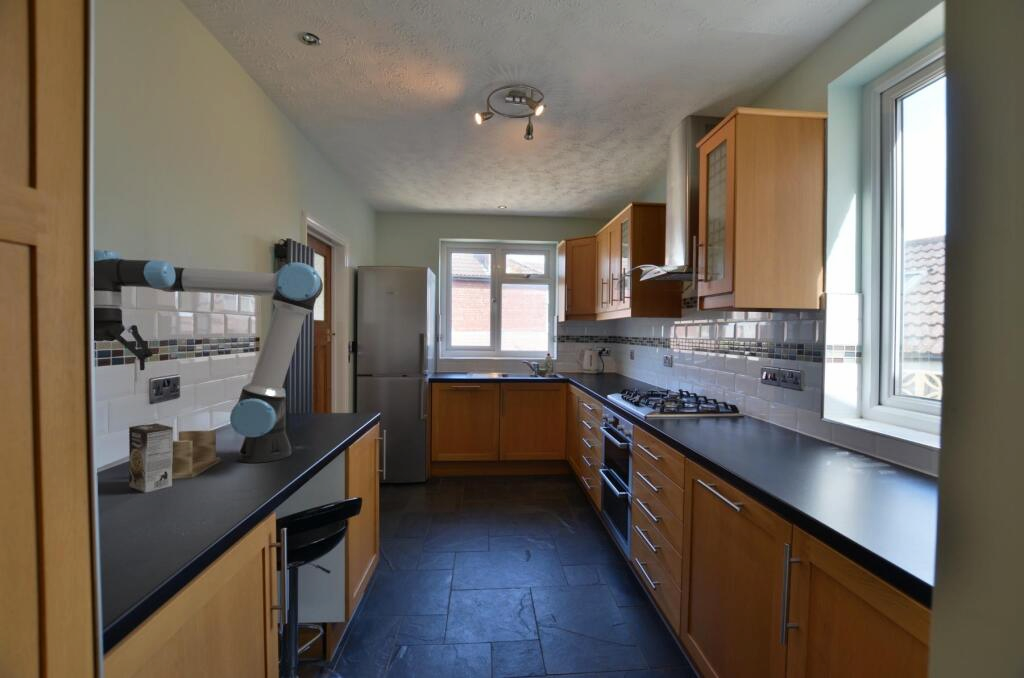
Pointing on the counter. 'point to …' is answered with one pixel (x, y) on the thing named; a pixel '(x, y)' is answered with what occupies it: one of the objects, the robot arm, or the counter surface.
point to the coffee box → (150, 457)
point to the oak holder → (193, 453)
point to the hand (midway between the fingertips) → (105, 384)
